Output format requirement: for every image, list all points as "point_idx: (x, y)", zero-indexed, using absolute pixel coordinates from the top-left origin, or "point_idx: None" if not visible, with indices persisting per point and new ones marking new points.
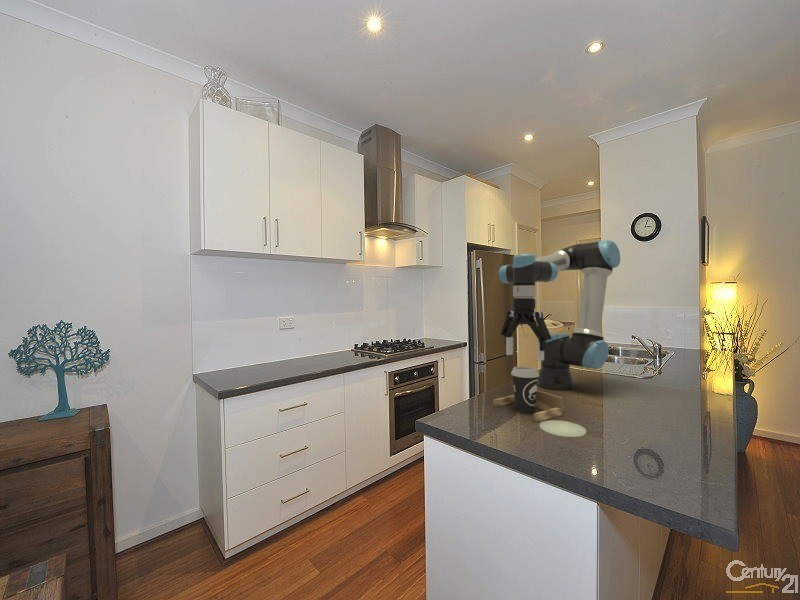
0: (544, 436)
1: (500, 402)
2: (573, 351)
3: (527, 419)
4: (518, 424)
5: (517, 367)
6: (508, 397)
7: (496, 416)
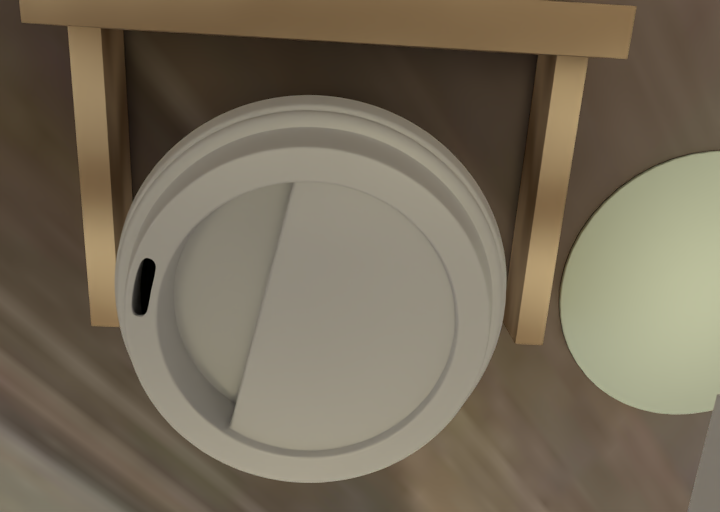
0: (674, 461)
1: None
2: None
3: None
4: (474, 437)
5: (159, 329)
6: (109, 170)
7: None
